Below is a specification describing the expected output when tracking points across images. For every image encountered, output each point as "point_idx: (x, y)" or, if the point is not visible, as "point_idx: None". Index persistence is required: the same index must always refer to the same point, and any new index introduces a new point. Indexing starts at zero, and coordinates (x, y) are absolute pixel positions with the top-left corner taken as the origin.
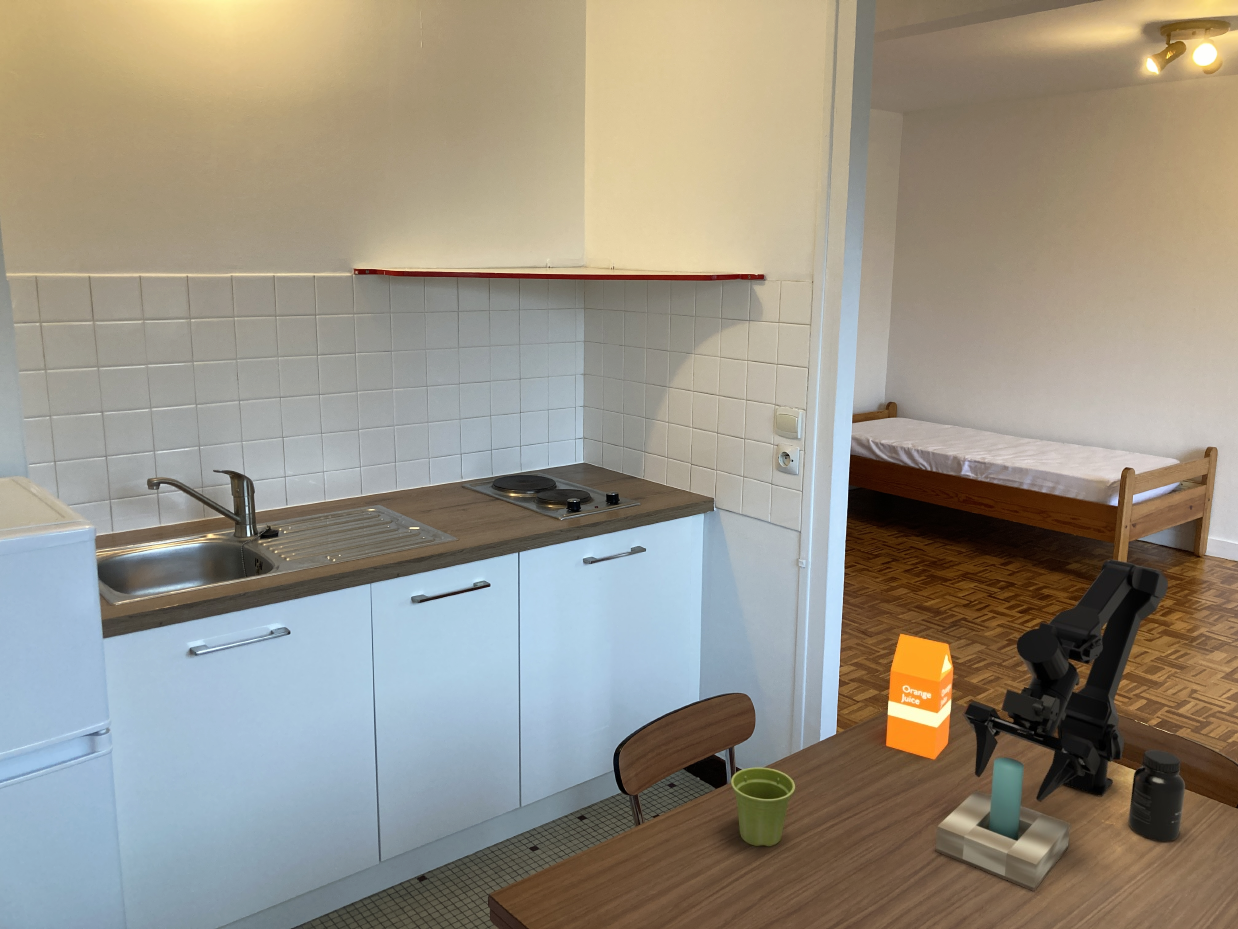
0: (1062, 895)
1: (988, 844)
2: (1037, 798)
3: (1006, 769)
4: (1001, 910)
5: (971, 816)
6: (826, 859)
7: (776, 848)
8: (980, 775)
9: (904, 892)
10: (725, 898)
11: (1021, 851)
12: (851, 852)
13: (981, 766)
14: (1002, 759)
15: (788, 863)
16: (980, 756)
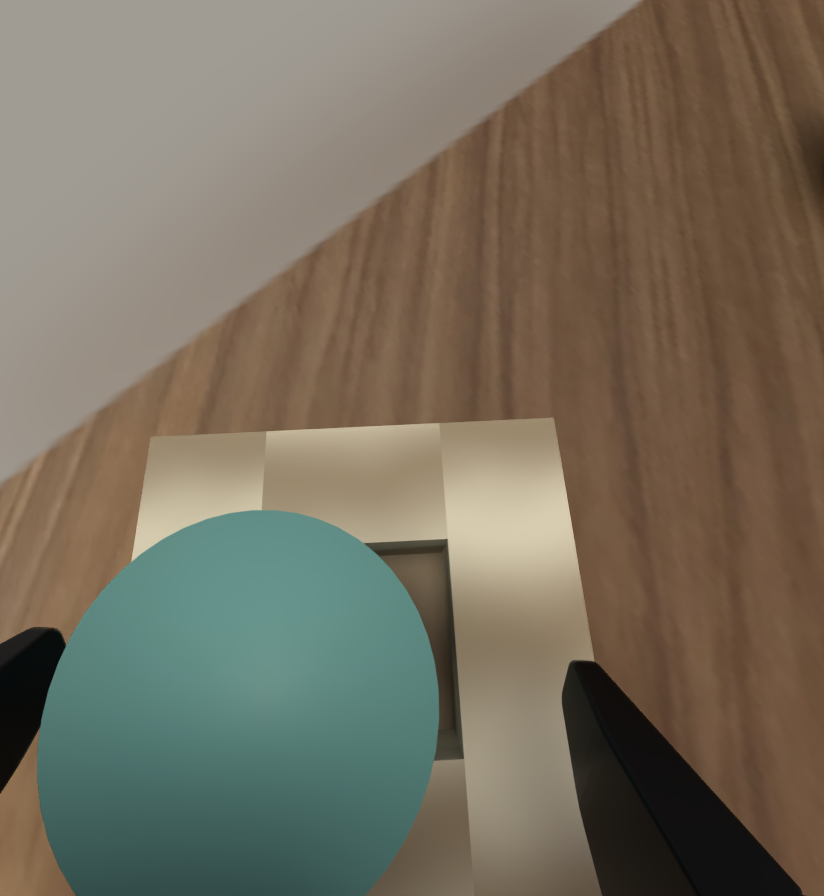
0: (120, 516)
1: (343, 437)
2: (46, 628)
3: (223, 526)
4: (253, 329)
5: (499, 601)
6: (698, 220)
7: (810, 179)
8: (565, 719)
9: (475, 236)
10: (711, 14)
11: (222, 484)
12: (683, 284)
13: (596, 748)
14: (360, 788)
15: (739, 155)
16: (682, 817)
